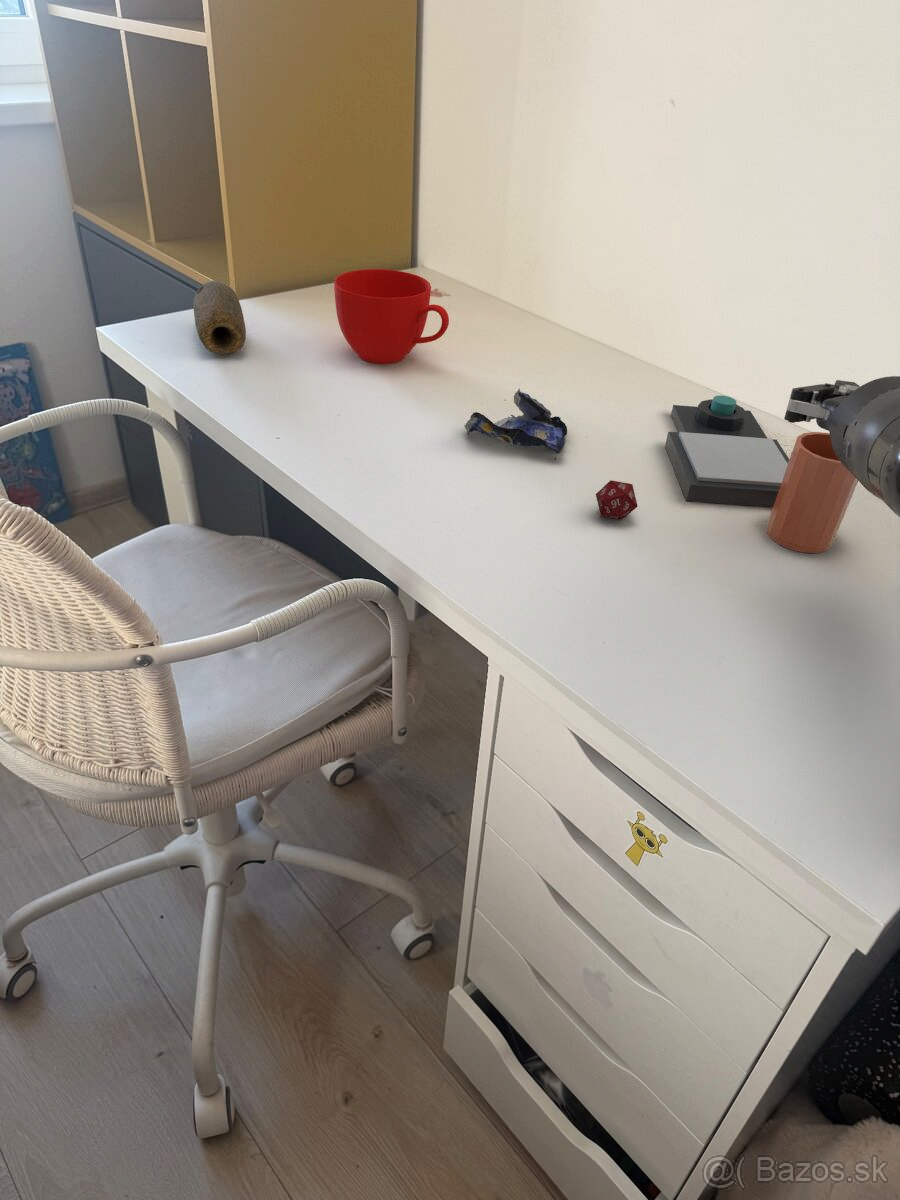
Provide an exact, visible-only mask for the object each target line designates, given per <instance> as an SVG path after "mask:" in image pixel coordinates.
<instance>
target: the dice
mask: <svg viewBox="0 0 900 1200" xmlns="http://www.w3.org/2000/svg"><path fill="white" fill-rule="evenodd" d="M595 497H596V501H597V506H598V510H599V514H600V517H604V518H609V519H616V520H620V521H621V520H622V521H623V520H624V519H625V518H626V517H627V516H628V515H630V514H631V513H632V512H633V511H634V510H635V509H637V508H638V506H639V505H638V501H637V498H636V493H635V489H634V485H633V483H629V482H623V481H619V480H613V479H609V481H608V482H607V483H606V484H604V486H603V487H602V488H601V489H600V490H598V491H597V492H596V493H595Z"/></svg>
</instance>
